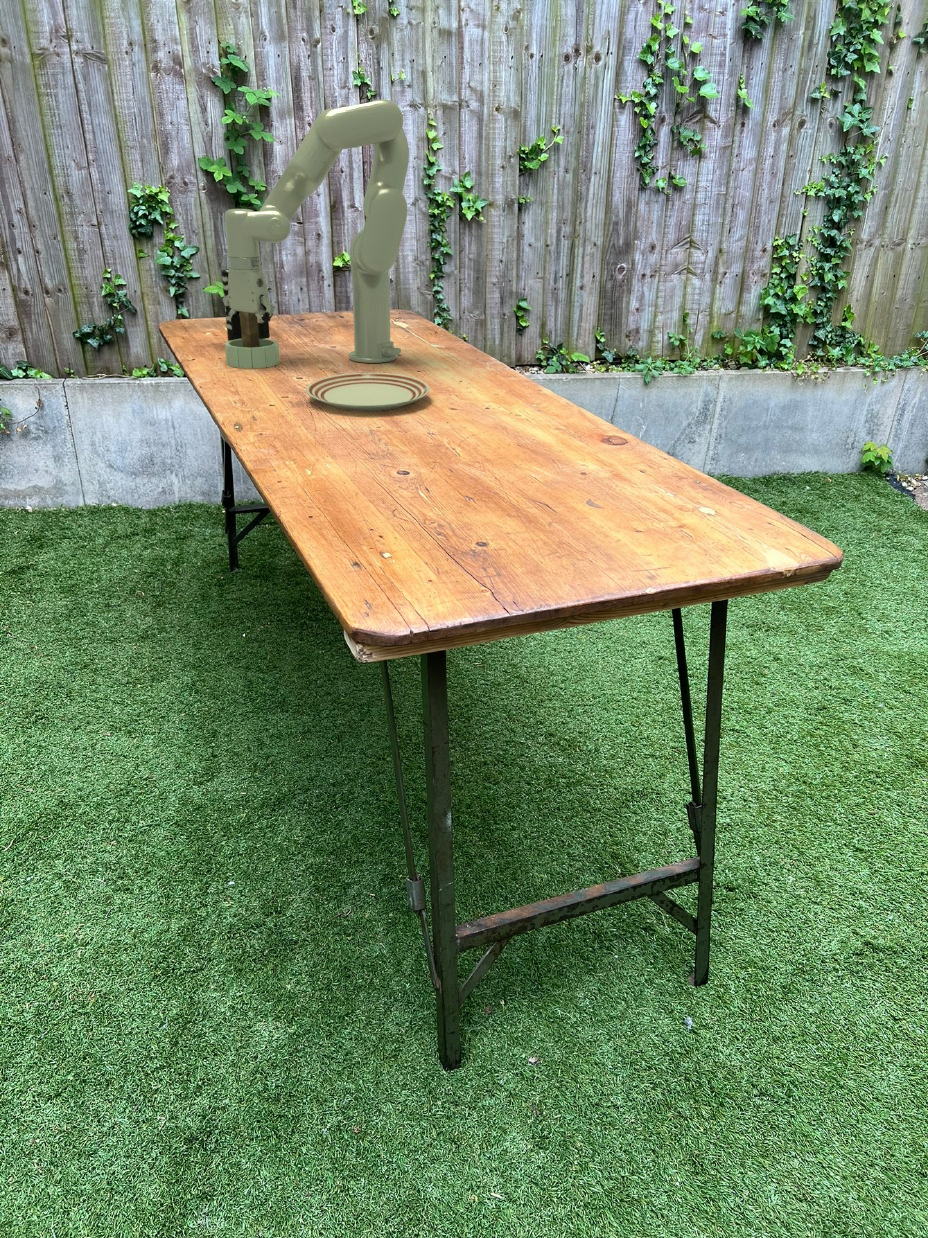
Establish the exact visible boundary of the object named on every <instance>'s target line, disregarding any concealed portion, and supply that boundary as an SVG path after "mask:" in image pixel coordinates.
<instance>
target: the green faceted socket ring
mask: <svg viewBox="0 0 928 1238" xmlns="http://www.w3.org/2000/svg"><path fill="white" fill-rule="evenodd" d="M259 343H260V347H253V348H248V347H243V343H242V339H236V340H230V341H228V340H227V341H226V342H224V350H225V351H224V352H225V361H226V365H227V366H229V367H231V368H235V367H237V368H236V369H245V370H247V369H249V370H253V369H267V368H271V367H275V365H276V366H278V365H279V364H280V361H281V359H280V349H279V348H280V347H279V342H278V341H277V340H275V339H270V338H266V339H259ZM278 363H279V364H278ZM266 367H267V368H266Z"/></svg>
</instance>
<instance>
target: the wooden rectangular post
mask: <svg viewBox="0 0 928 1238" xmlns="http://www.w3.org/2000/svg"><path fill="white" fill-rule="evenodd" d="M239 313H240V323H241V333H242V343H243V347H248V348H253V347H260V343H259V333H258V323H259V322H258V321H259V320H258V318H257V316H256V315H255V314H251V313H248V312H242V311H239Z"/></svg>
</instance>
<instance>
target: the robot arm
mask: <svg viewBox="0 0 928 1238" xmlns="http://www.w3.org/2000/svg"><path fill="white" fill-rule="evenodd" d="M403 125H404V117H403V112H402V110H401V109H400V107H399V106H398V105H397V104H396V103H395V102H394V101H392V100H389V99H377V100H372V101H370V102H369V101H368V102H364V103H359V104H355V105H349V106H343V107H335V108H328V109H325V110H323V111H322V112H320V113H319V115H317V117H316V119H315V121H313V123H312V125H311V127H310V128H309V130H308V131H307V133H306V135H305V136H304V138H303V140H302V141H301V143H300V145H299V147H298V148H297V149H296V151H295V154H294V155H293V156H292V157H291V159H290V160H289V163H288V164H287V165H286V167H285V169H284V170H283V173H282V175H281V176H280V177H279V178H278V181H277V182H276V183H275V185H274V186H273V188H272V190H271V191H270V193H269V194H268V196H267V198H266V199H265V200H264V203H263V204H262V206H261V208H260V209H259V210H257V211H256V210H255V211H254V210H253V209H249V208H231V209H227V210H226V211H225V214H224V223H225V233H226V234H225V235H226V244H227V246H226V247H227V254H228V255H227V256H228V257H227V258H228V264H229V265H228V266H229V274H228V295H227V296H225V297H224V296H223V297H222V303H223V305H224V309H225V308H226V311H227V312H228V313H229V317H230V318H231V326H232V334H234V335H235V334H240V333H241V323H240V317H239V316H240V313H239V311H242V312H248V313H251V314H255V315H256V316H257V320H258V321H259V322H258V333H259V339H270V336H271V335H270V323H269V322H271V318H272V317H273V315H274V311H275V305H274V304H273V303H272V302H271V301H270V300H269V293H268V292H269V291H268V286H267V281H266V277H265V273H264V271H263V270H262V268H261V267H262V261H261V256H260V244H259V242H264V243H272V244H279V243H282V242H285V240H286V239H287V238H288V237H289V236H290V234H291V222H292V219H293V218H294V216H295V215H296V213H297V212H298V210H299V209H300V207H301V206H302V204H304V202H305V201H306V200H307V198H309V196H311V195H312V194H313V193H315V191H317V190H318V188H320V186H321V185H322V184H323V181H324V179H325V178H326V177H327V175H328V173H329V171H330V170H331V169H332V167H333V165H334V164H335V162H336V160H337V159H338V158H339V156H340V155H341V152H342V151H343V150H346V149H347V150H348V149H352V148H353V149H354V148H360V147H364V146H369V145H373V161H372V165H371V166H372V167H371V170H370V171H371V172H370V175H369V180H368V182H367V183H368V184H367V187H366V191H365V195H364V198H363V201H362V202H363V203H362V209H363V213H364V215H365V221H364V226H363V228H362V230H361V231H359V232H357V233H356V234H355V235H354V237H353V238H352V240H351V243H350V245H349V246H350V247H349V261H350V270H351V271H350V272H351V281H352V283H351V284H352V309H353V310H352V311H353V312H352V313H353V340H354V341H353V345H354V351H351V352H349V353H348V358H349V360H351V361H353V362H358V363H366V364H378V363H379V364H380V363H387V362H393V361H395V360H396V359H397V357H398V356H399V355H400V354H401V351H402V349H401V347H395V345H394V344H395V343H394V341H391V307H390V305H391V300H390V299H391V297H390V295H391V293H390V291H391V290H390V286H391V285H390V275H389V271H390V269H392V267H393V266H394V263H395V262H396V260H397V256H398V252H399V249H400V246H401V242H402V238H403V235H404V229H405V226H406V223H407V217H408V203H407V199H406V197H405V195H404V194H403V192H404V186H405V183H406V177H407V173H408V169H409V162H410V147H409V142H408V138H407V135H406V132H405V130H404V128H403ZM225 306H226V307H225Z"/></svg>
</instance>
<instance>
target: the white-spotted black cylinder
mask: <svg viewBox="0 0 928 1238" xmlns="http://www.w3.org/2000/svg"><path fill="white" fill-rule="evenodd" d="M229 269H230V268H229ZM229 269H228V268H226V269H223V270H221V272H220V273H221V279H222V280H221V283H222V292H223V298H224V297H225V296H227V295H228V274H229ZM225 307H226V306H225V305H224V312H225V323H226V332H227V342H228V341H230V340H236V339H242V333H240V334H235V335H234V334H232V326H231V318H230V317H229V313H228V312H227V311H226V308H225ZM239 317H240V316H239Z"/></svg>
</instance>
